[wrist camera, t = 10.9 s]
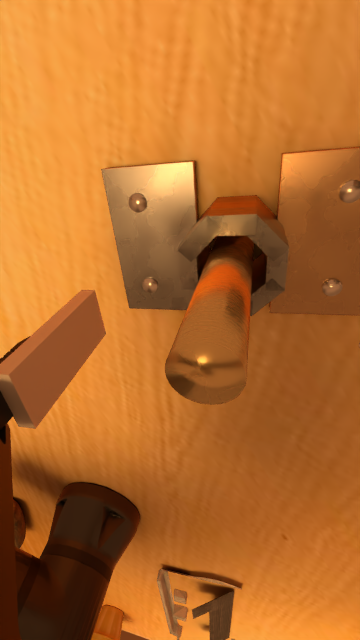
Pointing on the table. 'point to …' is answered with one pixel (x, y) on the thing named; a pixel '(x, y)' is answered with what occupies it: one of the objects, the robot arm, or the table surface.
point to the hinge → (243, 219)
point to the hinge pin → (215, 327)
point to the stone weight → (18, 525)
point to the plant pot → (108, 624)
